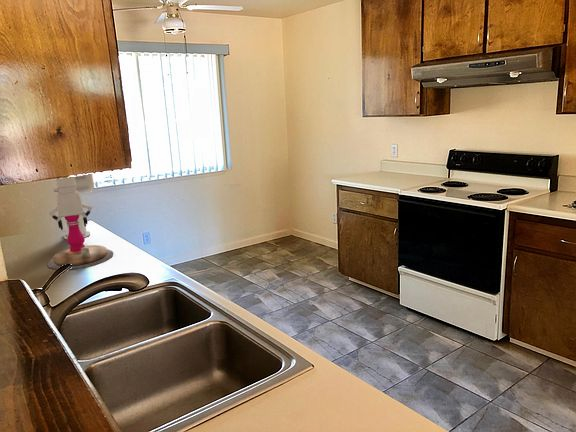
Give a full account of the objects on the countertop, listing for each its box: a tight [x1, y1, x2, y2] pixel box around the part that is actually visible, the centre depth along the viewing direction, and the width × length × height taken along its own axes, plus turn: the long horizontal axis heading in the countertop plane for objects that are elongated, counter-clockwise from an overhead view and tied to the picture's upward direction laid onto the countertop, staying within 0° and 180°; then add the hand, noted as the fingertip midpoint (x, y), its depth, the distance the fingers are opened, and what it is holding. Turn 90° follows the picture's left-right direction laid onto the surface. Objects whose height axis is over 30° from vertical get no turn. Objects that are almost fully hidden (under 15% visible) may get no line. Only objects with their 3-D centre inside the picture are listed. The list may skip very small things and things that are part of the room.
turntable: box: [52, 244, 108, 266], centre depth 205 cm, size 22×22×6 cm
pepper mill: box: [65, 215, 86, 252], centre depth 207 cm, size 7×7×20 cm
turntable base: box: [47, 248, 114, 270], centre depth 206 cm, size 27×27×1 cm
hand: (73, 227), depth 207 cm, fingers open, 9 cm apart
